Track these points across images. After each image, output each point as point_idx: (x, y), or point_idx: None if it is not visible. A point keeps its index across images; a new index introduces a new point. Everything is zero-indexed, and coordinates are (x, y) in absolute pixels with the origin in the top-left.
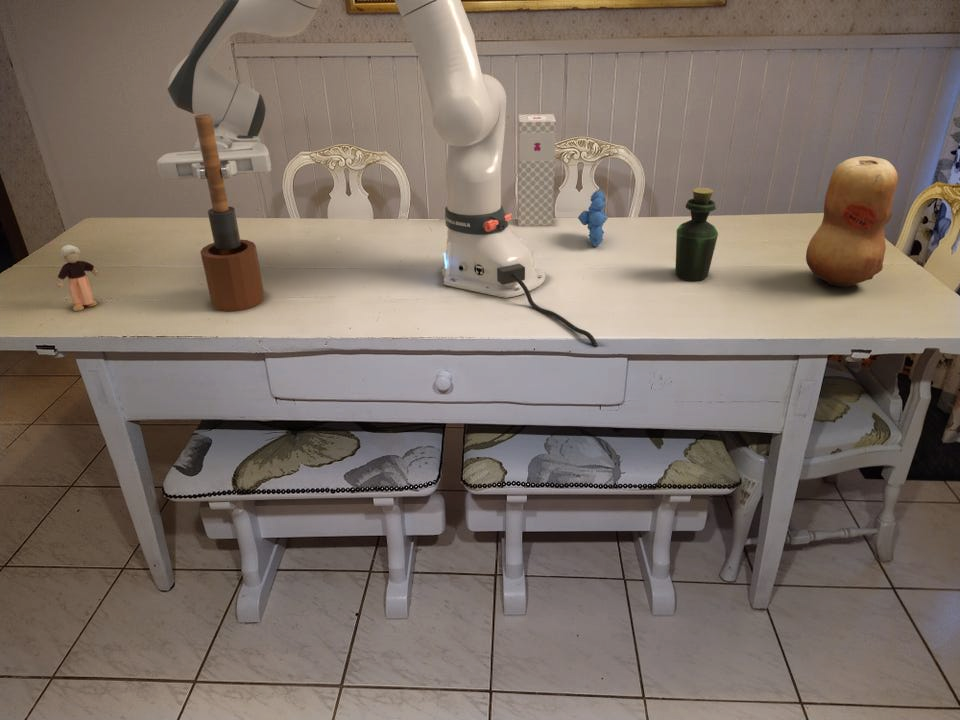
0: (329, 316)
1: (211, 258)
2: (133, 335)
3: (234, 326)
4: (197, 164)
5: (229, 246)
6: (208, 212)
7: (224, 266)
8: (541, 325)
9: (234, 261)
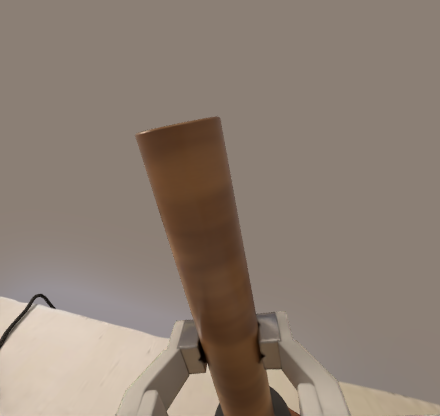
0: None
1: (295, 413)
2: (421, 402)
3: None
4: (306, 388)
5: None
6: (287, 408)
7: None
8: (29, 324)
9: None
